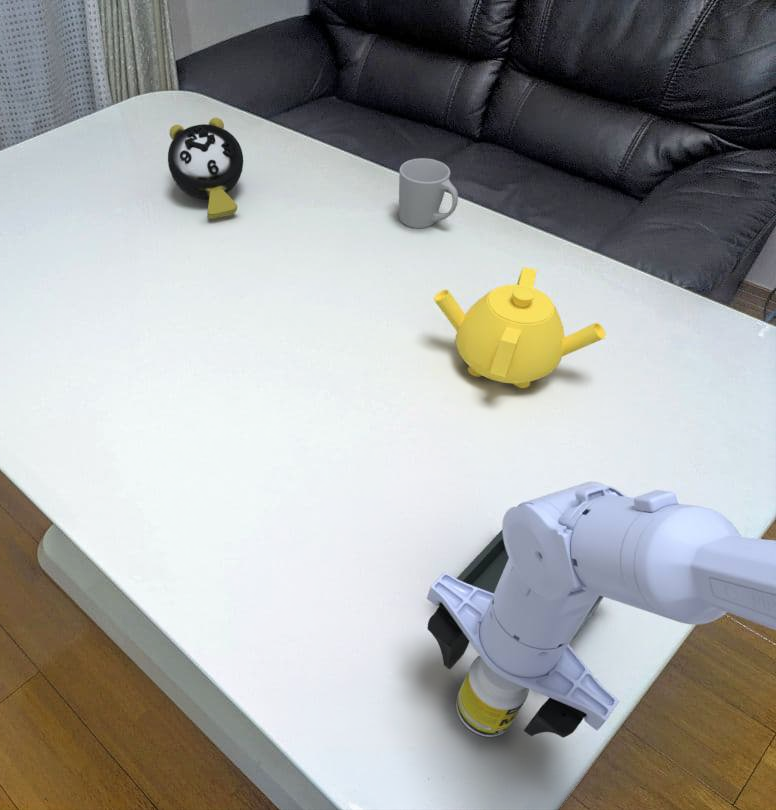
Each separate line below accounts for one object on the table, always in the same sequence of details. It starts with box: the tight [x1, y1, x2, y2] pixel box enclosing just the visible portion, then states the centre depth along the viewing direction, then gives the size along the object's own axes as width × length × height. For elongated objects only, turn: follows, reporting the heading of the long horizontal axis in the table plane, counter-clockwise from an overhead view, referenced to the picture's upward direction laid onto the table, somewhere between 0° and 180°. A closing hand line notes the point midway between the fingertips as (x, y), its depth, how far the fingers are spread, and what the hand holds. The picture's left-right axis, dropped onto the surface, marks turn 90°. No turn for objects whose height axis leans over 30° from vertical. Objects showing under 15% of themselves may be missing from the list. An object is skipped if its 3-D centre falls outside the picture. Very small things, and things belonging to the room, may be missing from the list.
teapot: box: [433, 266, 606, 389], centre depth 90 cm, size 20×18×11 cm
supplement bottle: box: [455, 655, 530, 738], centre depth 60 cm, size 5×5×8 cm
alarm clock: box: [167, 117, 244, 220], centre depth 121 cm, size 12×15×15 cm
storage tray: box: [455, 529, 605, 645], centre depth 68 cm, size 10×10×5 cm
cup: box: [398, 157, 459, 229], centre depth 114 cm, size 8×10×8 cm
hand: (492, 691), depth 61 cm, fingers open, 7 cm apart
